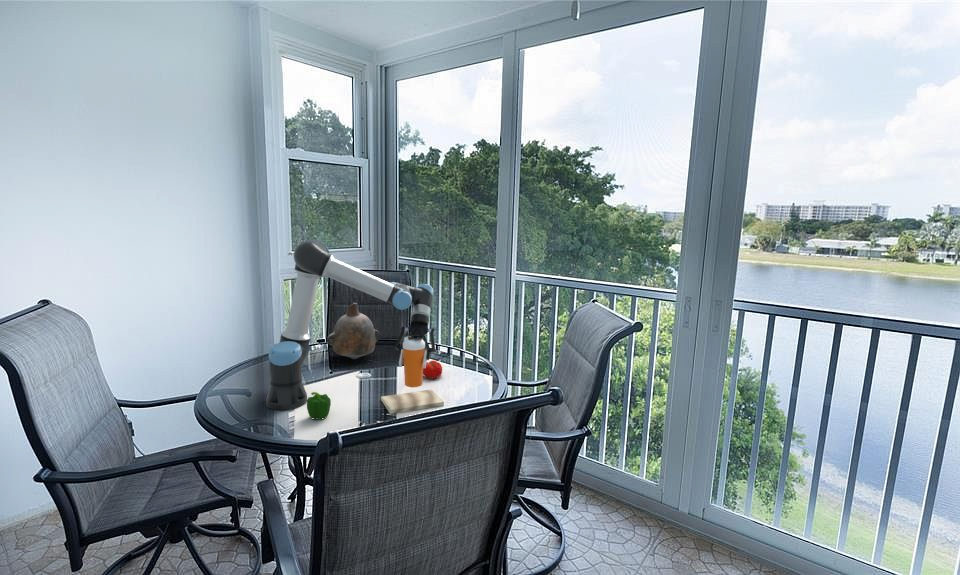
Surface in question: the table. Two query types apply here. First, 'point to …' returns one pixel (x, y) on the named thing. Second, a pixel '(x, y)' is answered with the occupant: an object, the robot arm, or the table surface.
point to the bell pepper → (318, 405)
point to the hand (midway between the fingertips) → (412, 366)
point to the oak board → (411, 401)
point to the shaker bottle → (413, 360)
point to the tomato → (432, 369)
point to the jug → (353, 334)
